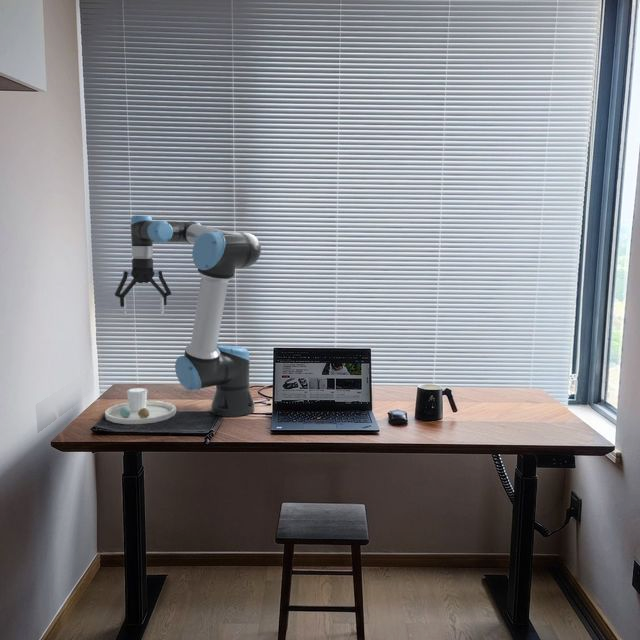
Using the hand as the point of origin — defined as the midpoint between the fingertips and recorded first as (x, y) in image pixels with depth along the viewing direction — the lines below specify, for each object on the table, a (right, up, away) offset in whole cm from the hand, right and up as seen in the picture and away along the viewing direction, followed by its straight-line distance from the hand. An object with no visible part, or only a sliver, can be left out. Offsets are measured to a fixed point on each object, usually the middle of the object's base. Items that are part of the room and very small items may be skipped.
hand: (143, 314), depth 238 cm
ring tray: (+5, -35, -21) cm, 41 cm away
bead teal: (+1, -34, -25) cm, 42 cm away
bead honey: (+7, -35, -26) cm, 44 cm away
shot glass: (+2, -33, -15) cm, 37 cm away
